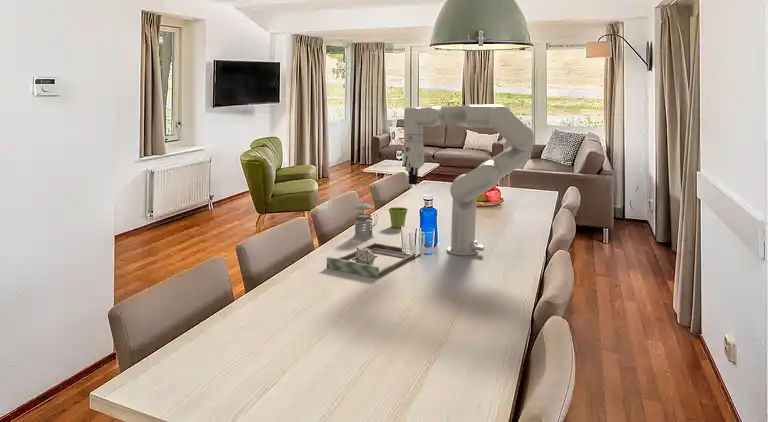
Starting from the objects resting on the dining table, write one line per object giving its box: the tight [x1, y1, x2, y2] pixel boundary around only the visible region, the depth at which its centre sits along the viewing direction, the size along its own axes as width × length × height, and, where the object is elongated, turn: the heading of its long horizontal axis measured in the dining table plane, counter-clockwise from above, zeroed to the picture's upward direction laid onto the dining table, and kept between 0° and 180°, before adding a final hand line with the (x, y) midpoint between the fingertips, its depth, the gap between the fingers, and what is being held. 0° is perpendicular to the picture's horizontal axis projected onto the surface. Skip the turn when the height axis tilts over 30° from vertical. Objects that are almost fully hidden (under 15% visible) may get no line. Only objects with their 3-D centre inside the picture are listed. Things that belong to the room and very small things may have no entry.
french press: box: [352, 181, 379, 241], centre depth 236 cm, size 10×12×25 cm
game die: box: [351, 245, 378, 266], centre depth 195 cm, size 9×8×10 cm
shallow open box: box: [326, 242, 416, 279], centre depth 204 cm, size 22×33×4 cm
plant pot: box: [387, 206, 409, 229], centre depth 256 cm, size 9×9×9 cm
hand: (413, 184), depth 216 cm, fingers closed
